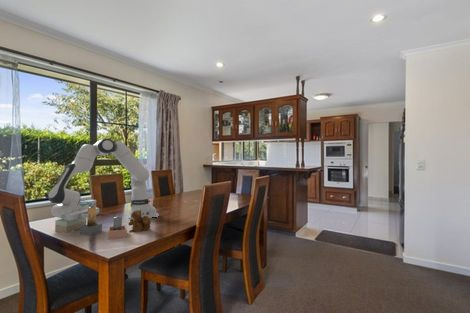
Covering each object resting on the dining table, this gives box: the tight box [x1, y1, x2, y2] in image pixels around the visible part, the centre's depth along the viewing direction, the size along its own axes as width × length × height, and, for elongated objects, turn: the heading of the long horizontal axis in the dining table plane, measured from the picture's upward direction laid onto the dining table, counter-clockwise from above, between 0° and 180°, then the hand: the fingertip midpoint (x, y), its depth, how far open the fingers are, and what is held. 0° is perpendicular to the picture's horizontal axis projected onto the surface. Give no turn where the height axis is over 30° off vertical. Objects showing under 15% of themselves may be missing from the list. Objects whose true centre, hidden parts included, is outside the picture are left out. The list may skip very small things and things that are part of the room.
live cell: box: [86, 206, 97, 226], centre depth 148 cm, size 4×4×12 cm
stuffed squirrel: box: [127, 210, 152, 233], centre depth 156 cm, size 10×14×13 cm
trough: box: [54, 217, 87, 234], centre depth 156 cm, size 14×9×7 cm, turn 164°
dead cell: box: [112, 215, 123, 231], centre depth 144 cm, size 4×4×12 cm
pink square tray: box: [107, 224, 128, 240], centre depth 144 cm, size 10×10×5 cm
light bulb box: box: [78, 199, 97, 207], centre depth 195 cm, size 11×7×11 cm, turn 168°
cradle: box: [79, 222, 103, 236], centre depth 148 cm, size 9×7×5 cm
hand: (92, 214), depth 148 cm, fingers closed on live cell, 4 cm apart
